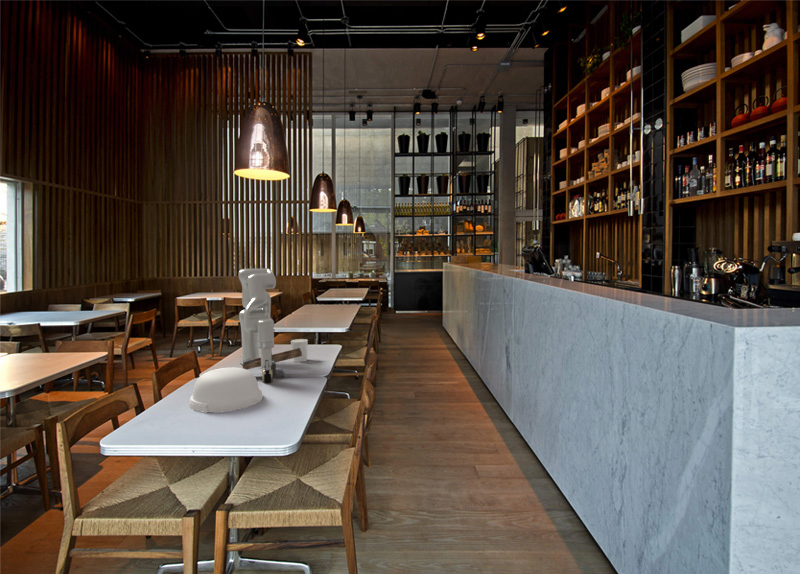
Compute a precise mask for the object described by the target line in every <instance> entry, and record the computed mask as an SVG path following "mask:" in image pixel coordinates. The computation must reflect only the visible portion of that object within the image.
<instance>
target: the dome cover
mask: <svg viewBox="0 0 800 574" xmlns="http://www.w3.org/2000/svg"><path fill="white" fill-rule="evenodd" d="M262 400H263V391H262V389H261V388H260V387H259V383H258V379H257V378H256V376H255V375H254V374H253V373H252V371H250V370H249V369H247V370H246V369H243V367H233V366H231V367H220V368H216V369H211V370H209V371H207V372H205V373H203V374H201V375H200V376H198V378H197V380H196V381H195V383H194V386H193V391H192V394H191V396H190V398H189V401H188V403H189V404H188V405H189V406H188V407H189V409H190V410H192V409H193V410H192V411H194V410H197V411H196V412H198V411H204V412H203V413H204V414H208V413H207V412H214V413H222V412H221V411H227V412H231V411H230V410H234V411H237V410H236V409H239V410H242V409H241V408H243V409H246V408H245V407H247V408H249V407H248V406H250V407H252V406H251V405H253V406H255V405H257V404H259V403H260V402H261V401H262ZM258 402H259V403H258ZM256 403H257V404H256ZM254 404H255V405H254Z"/></svg>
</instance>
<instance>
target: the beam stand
mask: <svg viewBox="0 0 800 574" xmlns="http://www.w3.org/2000/svg"><path fill="white" fill-rule="evenodd" d="M276 363H277V362H275V359H273V360H272V365H271V368H270V369H272V372H273V380H274V379H284V377H285V375H284V370H283V368H277V366H276V365H277V364H276Z"/></svg>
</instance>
